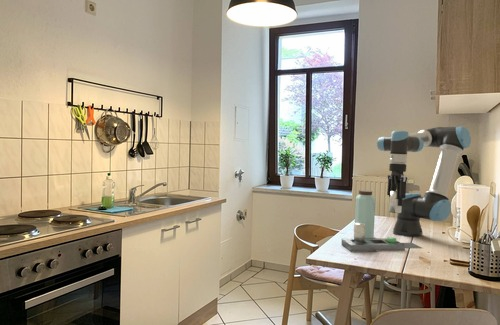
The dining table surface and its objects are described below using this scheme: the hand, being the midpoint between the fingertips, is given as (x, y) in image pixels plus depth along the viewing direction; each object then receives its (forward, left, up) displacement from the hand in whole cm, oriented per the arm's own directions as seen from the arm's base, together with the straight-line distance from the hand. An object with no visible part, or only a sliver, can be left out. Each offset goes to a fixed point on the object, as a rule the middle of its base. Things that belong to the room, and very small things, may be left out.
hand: (395, 211), depth 175 cm
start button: (+1, +1, -15) cm, 15 cm away
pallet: (+11, +1, -17) cm, 21 cm away
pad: (-8, -1, -17) cm, 19 cm away
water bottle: (+7, -18, -18) cm, 26 cm away
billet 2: (0, 0, 0) cm, 0 cm away
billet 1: (+18, +1, -16) cm, 24 cm away
